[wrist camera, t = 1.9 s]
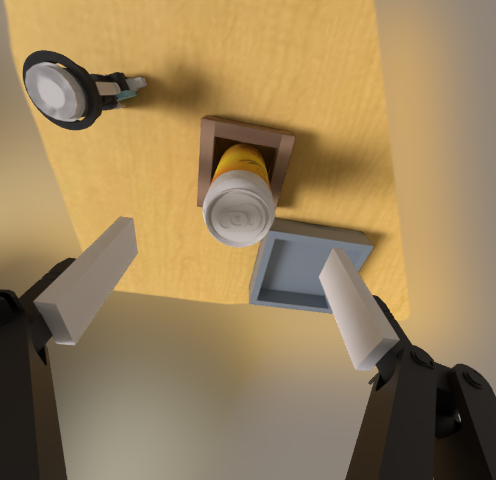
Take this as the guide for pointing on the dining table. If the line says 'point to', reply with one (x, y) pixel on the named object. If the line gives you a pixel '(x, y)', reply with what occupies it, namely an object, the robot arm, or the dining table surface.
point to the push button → (73, 90)
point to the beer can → (239, 198)
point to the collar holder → (244, 133)
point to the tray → (300, 264)
